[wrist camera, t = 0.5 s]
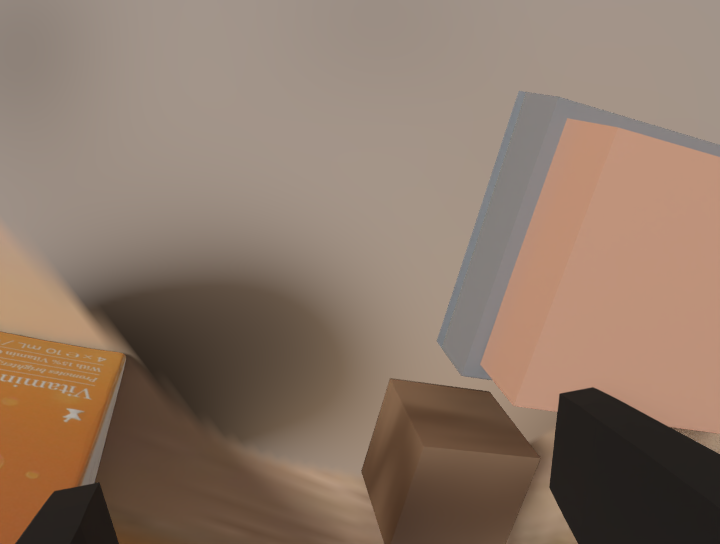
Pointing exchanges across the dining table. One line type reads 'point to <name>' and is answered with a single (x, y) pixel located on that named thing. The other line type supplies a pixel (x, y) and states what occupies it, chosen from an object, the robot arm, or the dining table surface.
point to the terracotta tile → (617, 281)
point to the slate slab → (518, 216)
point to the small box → (50, 422)
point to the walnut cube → (446, 466)
